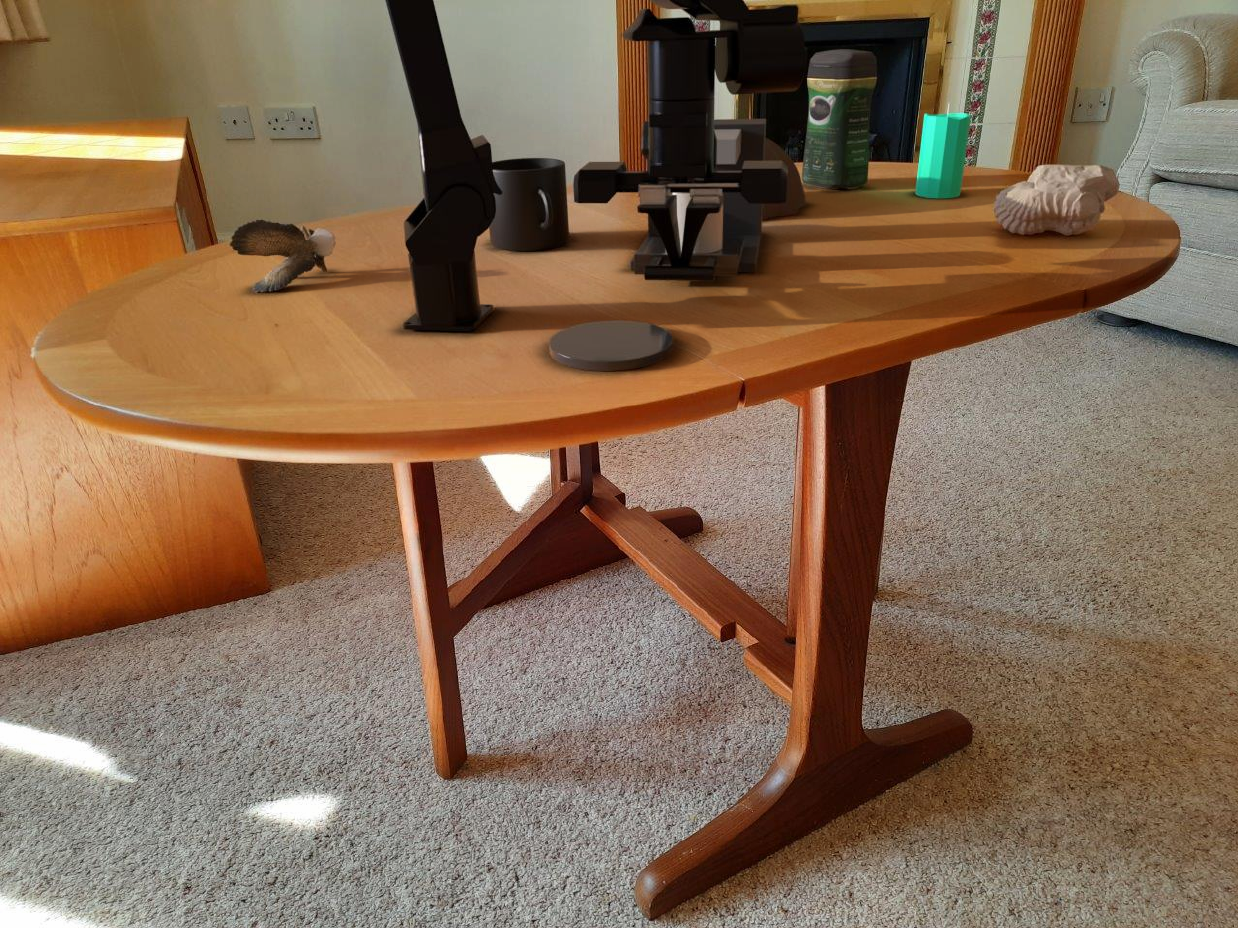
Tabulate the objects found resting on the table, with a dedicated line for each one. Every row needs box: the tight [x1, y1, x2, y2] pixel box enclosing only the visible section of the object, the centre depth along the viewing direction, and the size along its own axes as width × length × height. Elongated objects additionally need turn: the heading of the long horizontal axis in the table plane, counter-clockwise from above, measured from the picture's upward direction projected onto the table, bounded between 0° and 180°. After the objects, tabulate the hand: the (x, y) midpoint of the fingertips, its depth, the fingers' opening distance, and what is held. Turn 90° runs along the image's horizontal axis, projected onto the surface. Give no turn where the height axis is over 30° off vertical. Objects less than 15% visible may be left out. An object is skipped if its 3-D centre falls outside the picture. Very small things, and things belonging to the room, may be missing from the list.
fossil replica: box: [992, 163, 1121, 237], centre depth 100 cm, size 12×8×10 cm
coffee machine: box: [630, 118, 767, 274], centre depth 97 cm, size 18×13×13 cm
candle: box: [914, 102, 972, 199], centre depth 122 cm, size 6×6×12 cm
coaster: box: [548, 320, 674, 372], centre depth 72 cm, size 10×10×1 cm
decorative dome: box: [762, 137, 807, 221], centre depth 119 cm, size 19×20×10 cm
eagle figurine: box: [228, 219, 336, 293], centre depth 93 cm, size 8×7×9 cm
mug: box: [488, 157, 570, 252], centre depth 103 cm, size 9×12×9 cm
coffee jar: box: [801, 48, 878, 190], centre depth 129 cm, size 10×8×19 cm
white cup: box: [672, 192, 724, 253], centre depth 91 cm, size 6×6×6 cm
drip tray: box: [633, 237, 744, 282], centre depth 89 cm, size 18×10×2 cm, turn 170°
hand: (681, 277), depth 83 cm, fingers closed, pressing on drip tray
